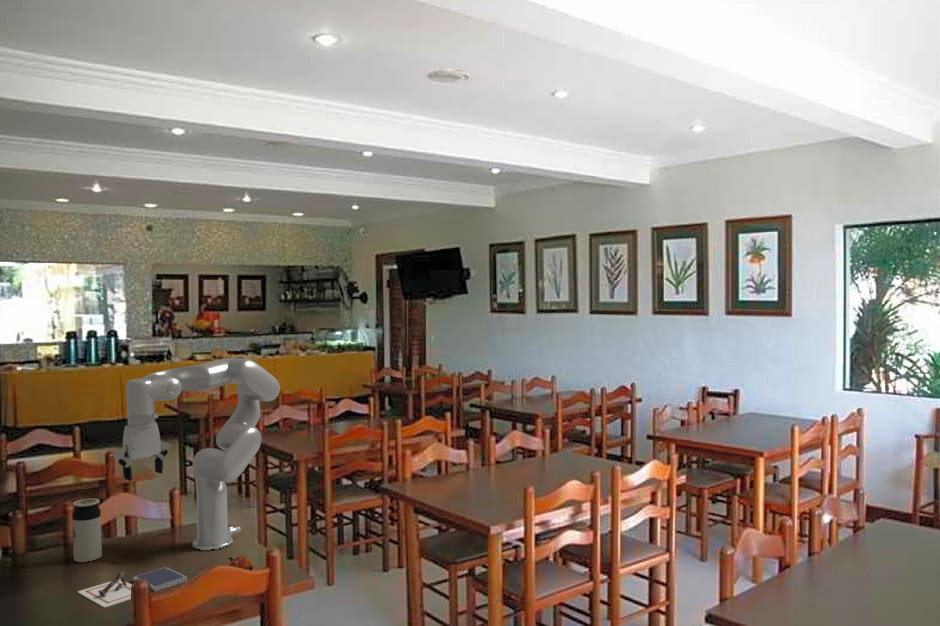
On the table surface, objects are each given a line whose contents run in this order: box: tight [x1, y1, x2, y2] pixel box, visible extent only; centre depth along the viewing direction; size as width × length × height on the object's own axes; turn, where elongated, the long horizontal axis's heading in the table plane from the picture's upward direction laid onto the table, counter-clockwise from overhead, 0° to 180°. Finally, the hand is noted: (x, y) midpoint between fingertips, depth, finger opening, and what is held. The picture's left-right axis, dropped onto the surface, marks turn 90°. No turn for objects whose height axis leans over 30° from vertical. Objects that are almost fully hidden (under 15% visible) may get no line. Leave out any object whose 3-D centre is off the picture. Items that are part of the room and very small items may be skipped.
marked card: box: [77, 579, 133, 609], centre depth 219 cm, size 12×16×1 cm
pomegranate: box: [227, 555, 254, 571], centre depth 227 cm, size 7×7×10 cm
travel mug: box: [71, 497, 103, 563], centre depth 245 cm, size 8×8×18 cm
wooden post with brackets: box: [98, 571, 128, 597], centre depth 219 cm, size 2×8×4 cm, turn 151°
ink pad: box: [132, 566, 188, 592], centre depth 227 cm, size 10×12×1 cm
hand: (143, 476), depth 237 cm, fingers open, 9 cm apart
